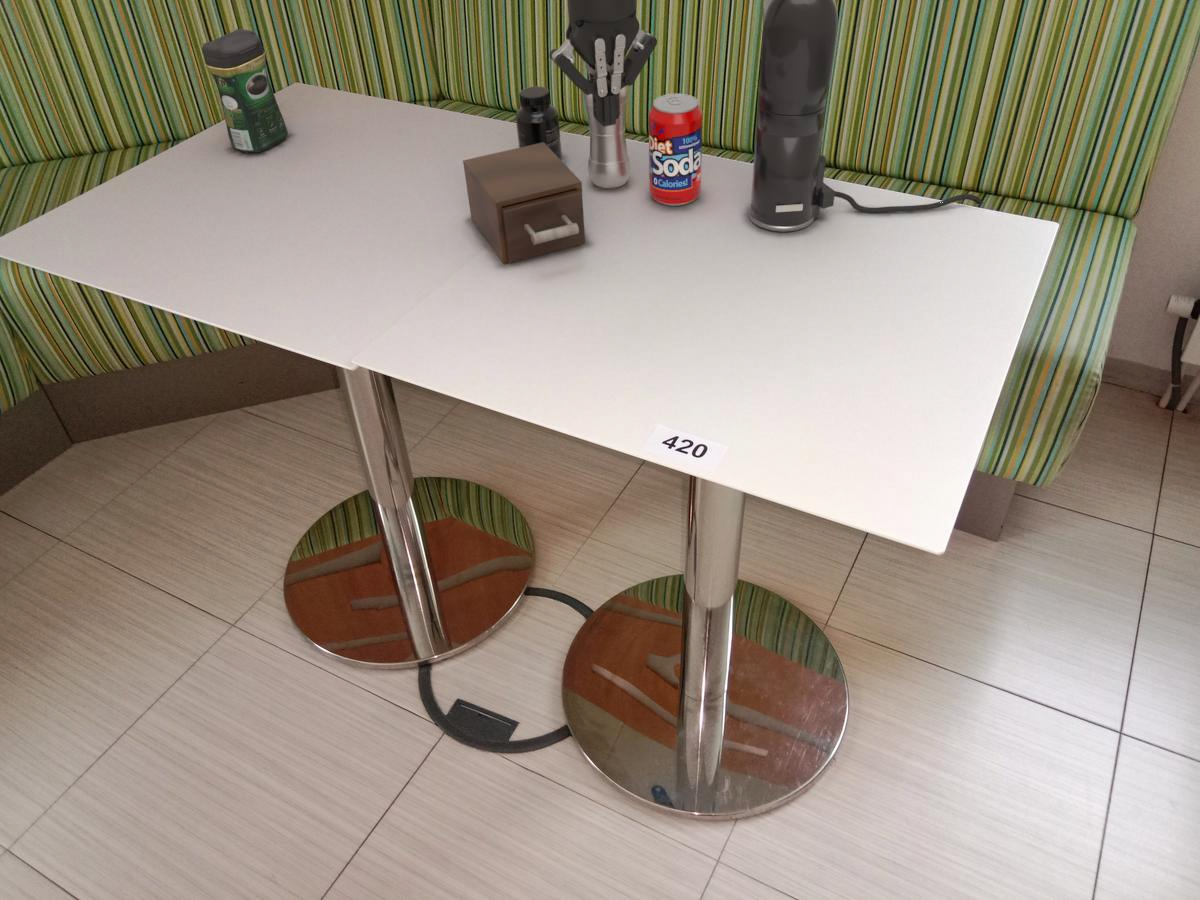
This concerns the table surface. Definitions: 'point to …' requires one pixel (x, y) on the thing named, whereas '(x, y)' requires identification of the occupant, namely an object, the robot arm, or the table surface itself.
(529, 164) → the cabinet
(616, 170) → the silver metal bottle
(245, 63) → the coffee jar
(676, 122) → the soda can
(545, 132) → the supplement bottle
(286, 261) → the table surface
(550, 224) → the drawer
